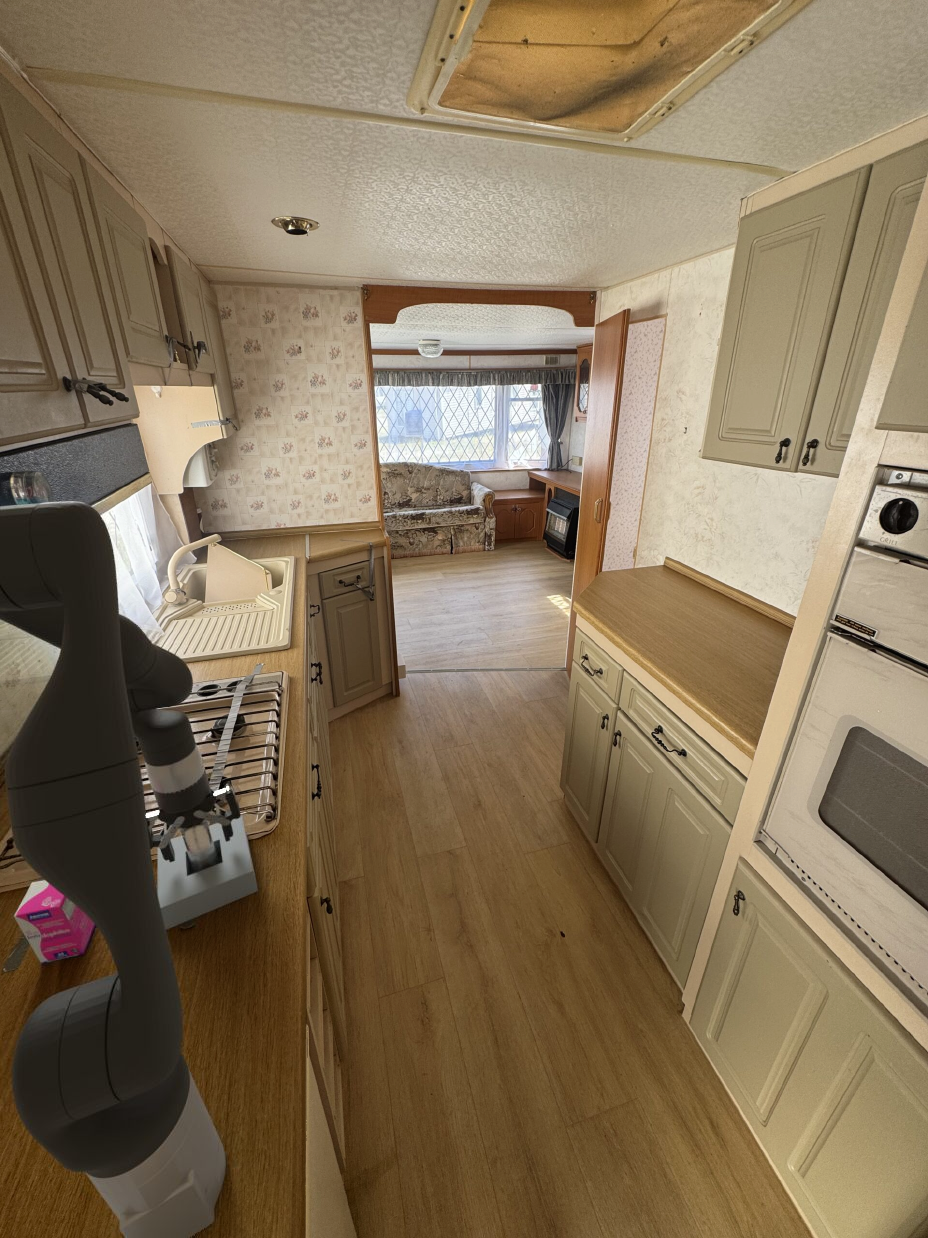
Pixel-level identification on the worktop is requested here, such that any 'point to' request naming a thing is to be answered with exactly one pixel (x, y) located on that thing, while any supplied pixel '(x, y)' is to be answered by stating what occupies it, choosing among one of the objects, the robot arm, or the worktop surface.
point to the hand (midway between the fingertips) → (200, 847)
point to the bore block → (205, 877)
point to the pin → (200, 846)
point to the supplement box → (53, 923)
